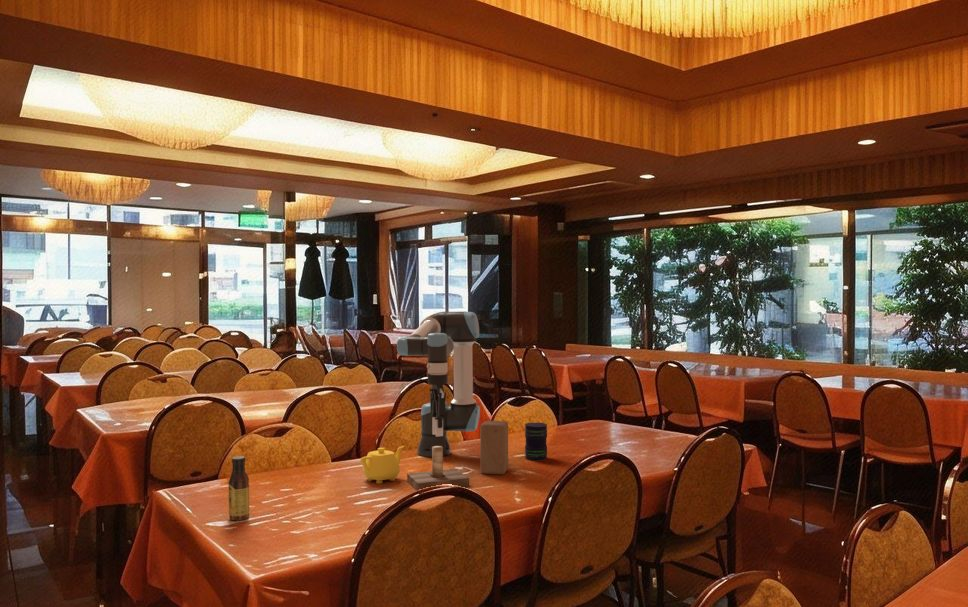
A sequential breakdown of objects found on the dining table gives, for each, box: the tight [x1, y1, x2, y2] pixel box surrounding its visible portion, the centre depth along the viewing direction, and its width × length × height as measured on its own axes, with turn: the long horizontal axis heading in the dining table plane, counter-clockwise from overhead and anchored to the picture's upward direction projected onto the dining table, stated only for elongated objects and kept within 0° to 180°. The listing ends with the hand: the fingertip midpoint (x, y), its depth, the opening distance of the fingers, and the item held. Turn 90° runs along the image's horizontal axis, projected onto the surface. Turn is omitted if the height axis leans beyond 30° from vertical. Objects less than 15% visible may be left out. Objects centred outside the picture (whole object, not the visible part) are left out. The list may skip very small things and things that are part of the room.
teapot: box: [360, 445, 405, 485], centre depth 269 cm, size 13×20×12 cm
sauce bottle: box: [228, 455, 250, 521], centre depth 222 cm, size 7×6×20 cm
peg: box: [431, 446, 444, 478], centre depth 263 cm, size 4×4×14 cm
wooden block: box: [479, 420, 509, 475], centre depth 281 cm, size 10×10×20 cm
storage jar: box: [524, 422, 548, 462], centre depth 305 cm, size 10×10×15 cm
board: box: [406, 468, 470, 491], centre depth 263 cm, size 15×20×3 cm
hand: (437, 435), depth 263 cm, fingers open, 3 cm apart
